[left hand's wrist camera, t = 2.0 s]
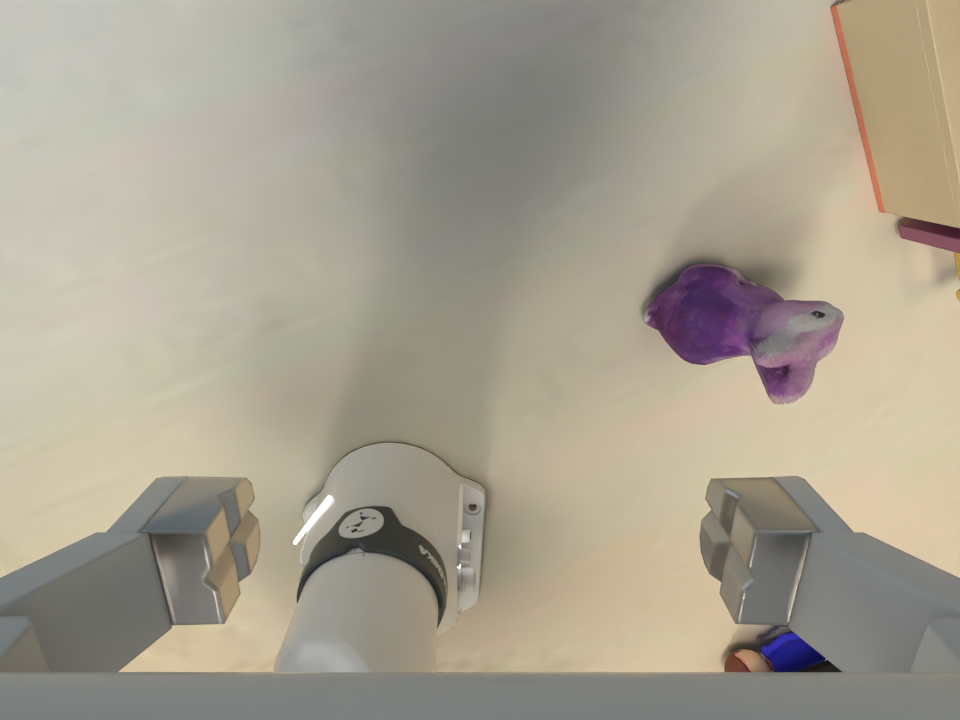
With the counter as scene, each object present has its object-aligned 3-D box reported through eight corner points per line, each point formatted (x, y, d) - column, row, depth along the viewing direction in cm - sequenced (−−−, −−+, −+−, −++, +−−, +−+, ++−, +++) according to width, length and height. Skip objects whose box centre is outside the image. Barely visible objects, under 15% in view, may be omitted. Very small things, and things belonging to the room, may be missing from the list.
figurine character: (831, 590, 66) (708, 645, 67) (881, 642, 59) (744, 703, 60) (844, 631, 68) (725, 683, 69) (894, 686, 61) (761, 744, 62)
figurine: (788, 289, 52) (902, 349, 38) (704, 373, 55) (780, 457, 41) (714, 222, 50) (806, 258, 36) (631, 312, 53) (685, 379, 39)
